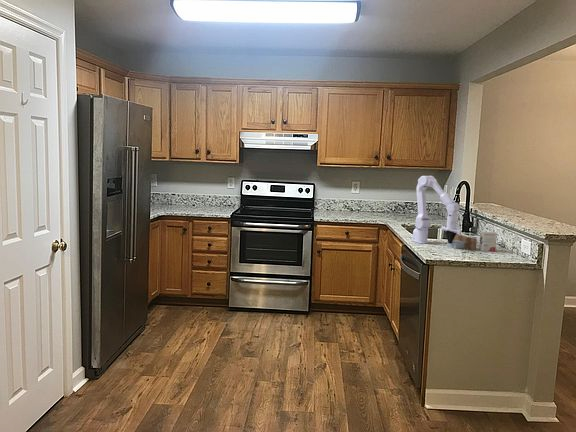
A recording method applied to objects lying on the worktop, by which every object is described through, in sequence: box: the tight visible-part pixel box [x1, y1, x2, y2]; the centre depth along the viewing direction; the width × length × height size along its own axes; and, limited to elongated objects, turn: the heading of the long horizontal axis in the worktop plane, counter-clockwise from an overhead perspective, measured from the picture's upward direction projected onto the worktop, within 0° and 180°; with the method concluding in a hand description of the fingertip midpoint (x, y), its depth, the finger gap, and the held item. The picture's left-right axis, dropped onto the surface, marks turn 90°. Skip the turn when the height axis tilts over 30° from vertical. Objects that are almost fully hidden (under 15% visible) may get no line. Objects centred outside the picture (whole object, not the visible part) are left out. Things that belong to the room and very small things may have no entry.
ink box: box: [478, 230, 498, 252], centre depth 295 cm, size 9×5×12 cm, turn 92°
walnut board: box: [453, 233, 478, 251], centre depth 304 cm, size 20×3×7 cm, turn 28°
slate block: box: [446, 240, 465, 250], centre depth 301 cm, size 7×8×4 cm
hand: (449, 243), depth 299 cm, fingers closed, pressing on slate block
